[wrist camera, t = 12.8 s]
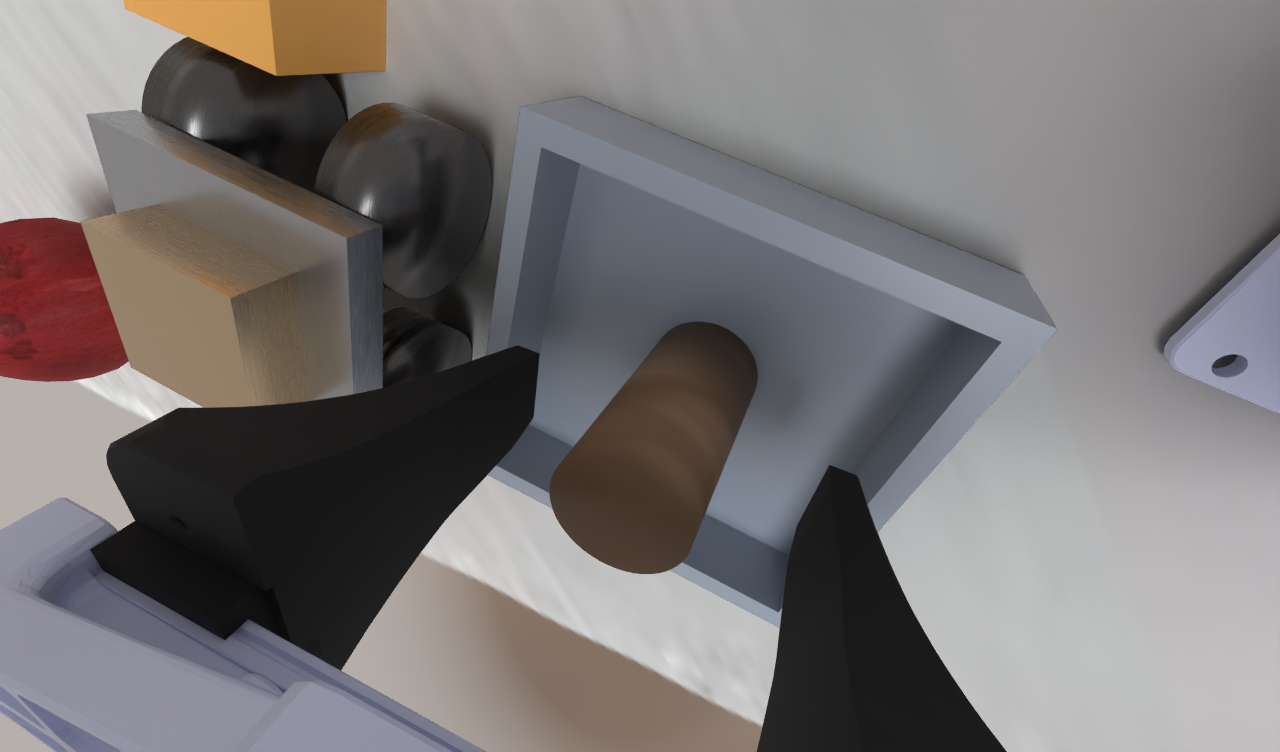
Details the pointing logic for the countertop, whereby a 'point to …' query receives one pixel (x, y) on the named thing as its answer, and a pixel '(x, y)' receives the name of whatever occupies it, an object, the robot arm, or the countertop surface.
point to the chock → (281, 31)
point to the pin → (657, 451)
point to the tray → (744, 325)
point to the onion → (53, 305)
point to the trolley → (280, 233)
